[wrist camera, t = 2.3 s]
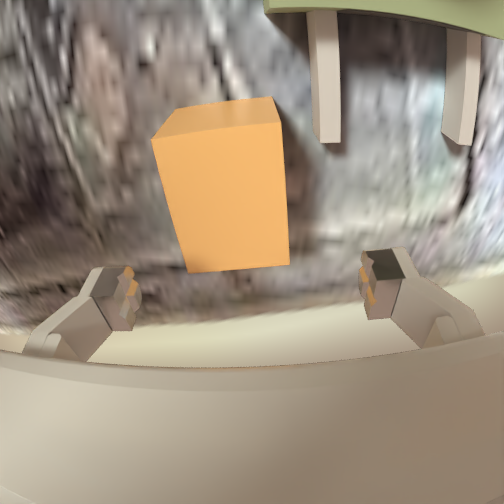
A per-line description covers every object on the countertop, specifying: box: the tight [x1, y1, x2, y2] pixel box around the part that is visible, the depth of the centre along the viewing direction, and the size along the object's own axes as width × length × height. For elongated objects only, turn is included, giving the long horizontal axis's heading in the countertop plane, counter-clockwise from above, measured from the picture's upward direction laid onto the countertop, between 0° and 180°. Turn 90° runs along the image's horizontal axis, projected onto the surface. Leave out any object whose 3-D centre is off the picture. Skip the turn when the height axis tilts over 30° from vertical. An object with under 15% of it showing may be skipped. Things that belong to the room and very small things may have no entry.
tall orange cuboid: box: [151, 97, 290, 273], centre depth 16 cm, size 5×7×5 cm
